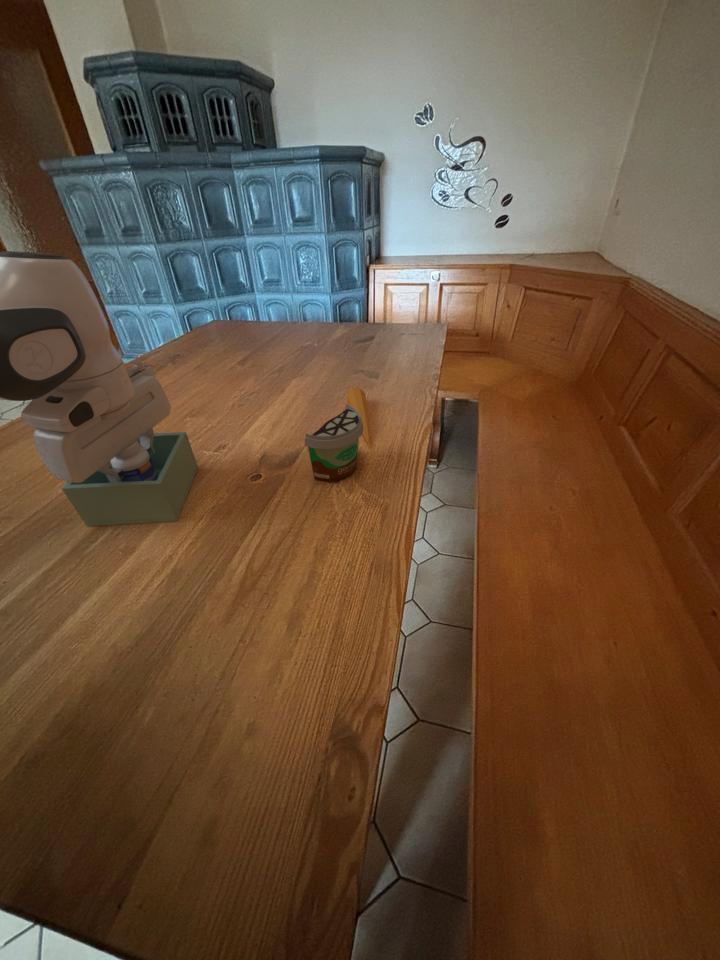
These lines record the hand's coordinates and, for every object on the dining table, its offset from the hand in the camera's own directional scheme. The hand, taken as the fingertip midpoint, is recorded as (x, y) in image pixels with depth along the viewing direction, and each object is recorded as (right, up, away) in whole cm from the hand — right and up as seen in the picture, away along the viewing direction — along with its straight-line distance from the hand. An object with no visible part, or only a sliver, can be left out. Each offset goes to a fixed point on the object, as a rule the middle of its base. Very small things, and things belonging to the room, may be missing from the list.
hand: (134, 467), depth 61 cm
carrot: (+36, +10, +21) cm, 43 cm away
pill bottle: (0, -4, +3) cm, 5 cm away
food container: (+33, 0, +9) cm, 34 cm away
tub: (0, -5, +4) cm, 6 cm away
